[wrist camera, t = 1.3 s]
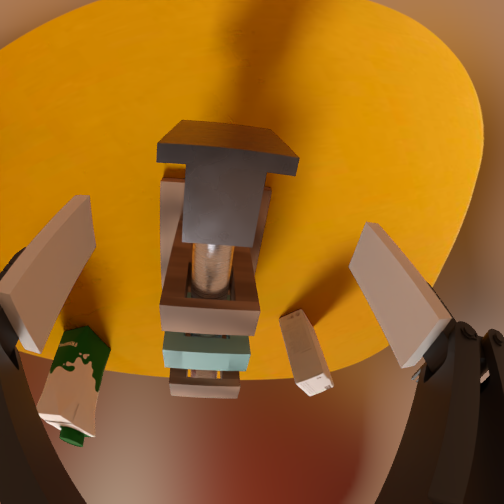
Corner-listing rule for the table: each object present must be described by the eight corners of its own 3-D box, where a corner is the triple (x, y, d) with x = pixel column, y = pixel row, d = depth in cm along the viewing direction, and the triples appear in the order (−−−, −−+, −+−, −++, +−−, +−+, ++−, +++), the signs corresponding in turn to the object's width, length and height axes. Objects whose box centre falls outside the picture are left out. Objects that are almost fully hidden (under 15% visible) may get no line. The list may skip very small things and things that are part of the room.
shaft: (228, 358, 37) (233, 416, 29) (178, 355, 36) (174, 414, 28) (270, 129, 21) (299, 158, 13) (182, 119, 20) (157, 143, 12)
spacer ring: (240, 314, 33) (245, 371, 26) (172, 310, 31) (165, 367, 25) (243, 295, 31) (250, 354, 24) (171, 291, 30) (162, 349, 23)
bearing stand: (241, 330, 44) (249, 412, 32) (166, 325, 42) (156, 408, 30) (270, 187, 31) (303, 265, 19) (162, 177, 29) (124, 252, 17)
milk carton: (86, 357, 46) (65, 445, 29) (57, 328, 41) (25, 421, 24) (117, 351, 45) (99, 450, 29) (87, 320, 40) (55, 425, 24)
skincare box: (277, 318, 43) (291, 384, 33) (303, 306, 42) (323, 372, 32) (292, 337, 47) (307, 398, 37) (315, 327, 46) (335, 387, 36)
